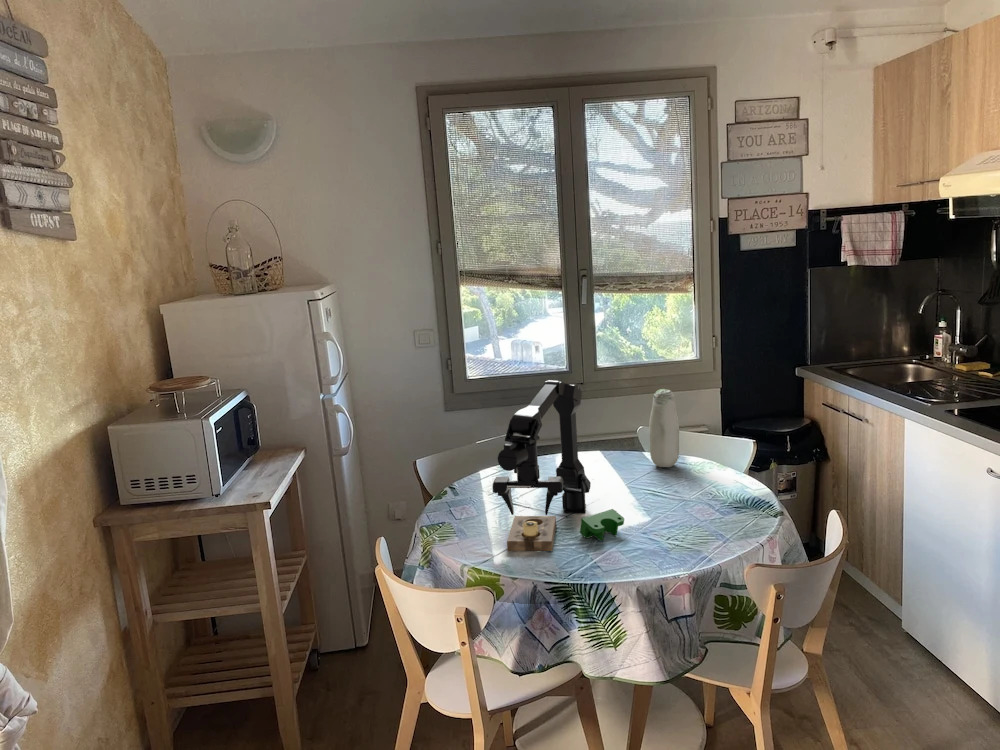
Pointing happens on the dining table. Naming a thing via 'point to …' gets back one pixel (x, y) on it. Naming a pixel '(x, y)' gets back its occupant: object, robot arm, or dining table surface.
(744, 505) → the dining table surface
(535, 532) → the brass sleeve
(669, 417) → the white bottle
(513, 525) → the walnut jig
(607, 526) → the clamp
